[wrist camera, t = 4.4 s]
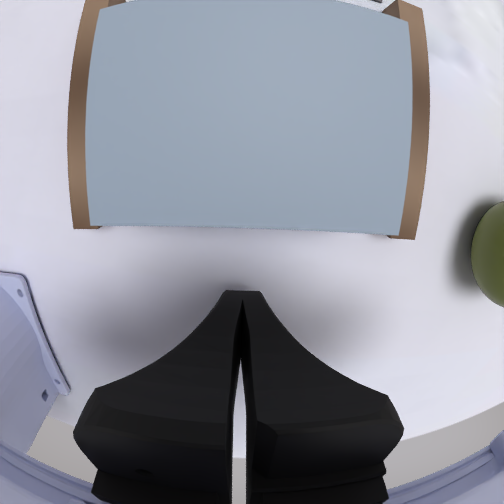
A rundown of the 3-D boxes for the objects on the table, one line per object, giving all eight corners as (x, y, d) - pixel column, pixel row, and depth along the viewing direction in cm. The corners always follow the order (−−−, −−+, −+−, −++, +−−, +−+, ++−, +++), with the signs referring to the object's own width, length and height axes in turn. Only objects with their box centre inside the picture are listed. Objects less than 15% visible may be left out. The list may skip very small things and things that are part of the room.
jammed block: (349, 202, 10) (398, 235, 7) (141, 195, 10) (90, 225, 6) (357, 55, 8) (408, 21, 4) (146, 47, 8) (99, 9, 4)
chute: (397, 228, 11) (414, 239, 10) (91, 218, 11) (73, 228, 9) (405, 19, 8) (421, 8, 6) (101, 6, 7) (86, -5, 6)
